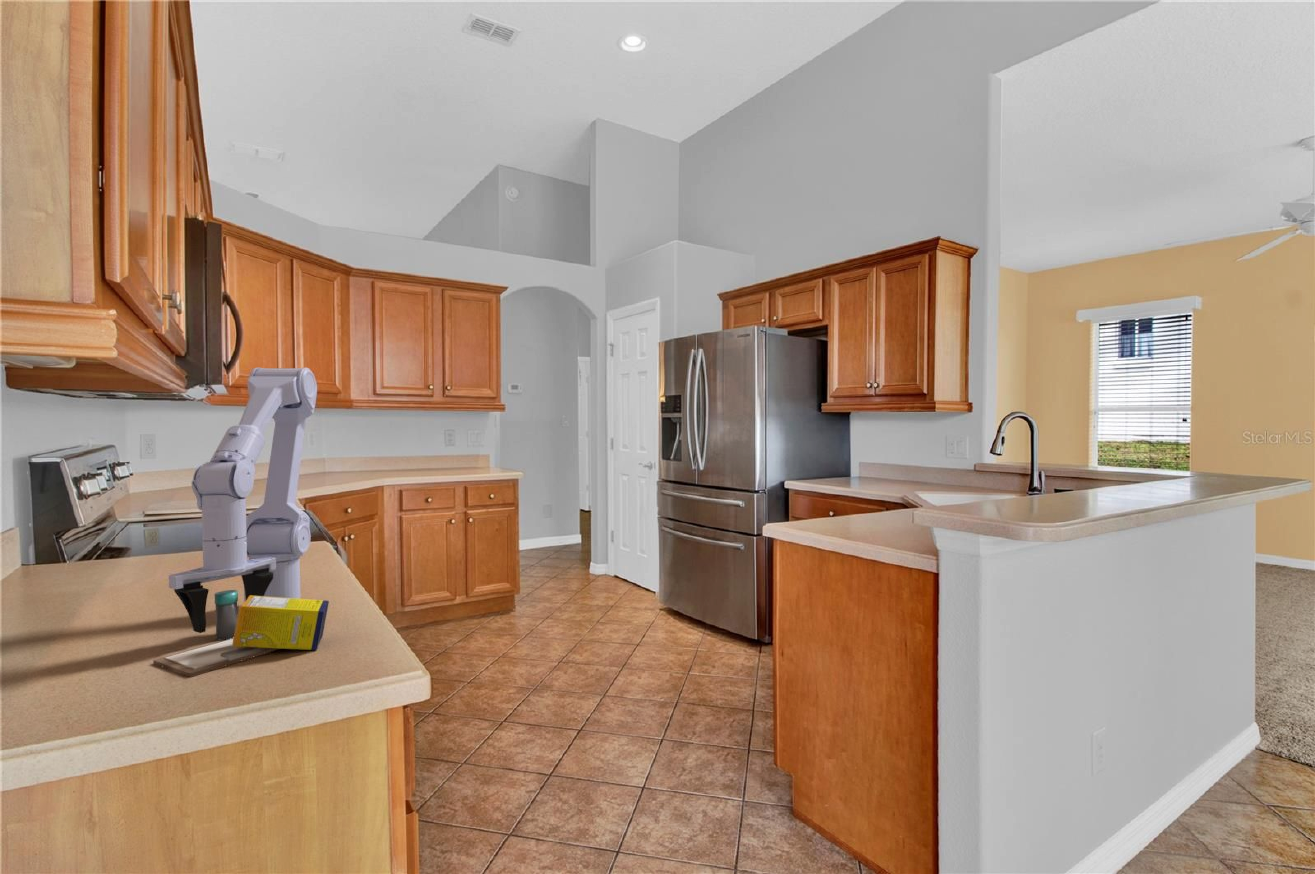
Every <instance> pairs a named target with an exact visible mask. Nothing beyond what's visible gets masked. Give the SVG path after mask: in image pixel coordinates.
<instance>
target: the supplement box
mask: <svg viewBox="0 0 1315 874" xmlns="http://www.w3.org/2000/svg"><path fill="white" fill-rule="evenodd" d="M329 603H330V602H329V600H327V599H326V600H325V599H324V600H323V599H311V598H309V599H307V598H300V599H296V598H281V597H267V596H253V595H250V596H249V597H248V599H247V600H246V601H245V602H243V604H241V606H240V605H239V606H240V607H239V606H238V610H237V622H236V628H235V633H234V638H233V644H232V646H233V647H258V648H280V649H279V650H281V649H283V650H284V649H285V650H309V651H311V650H313V651H317V650H318V649H319V645H320V643H321V640H322V638H323V636H324V631H325V630H324V629H325V625H326V620H327V619H326V618H327V614H328V613H327V612H328V609H329Z"/></svg>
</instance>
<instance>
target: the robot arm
mask: <svg viewBox="0 0 1315 874" xmlns="http://www.w3.org/2000/svg"><path fill="white" fill-rule="evenodd" d="M247 390H248V395H249V397H248V400H247V403H246V406H245V409H244V410H243V413H242V415H241V418H240V421H239V423H238V425H237V424H236V425H233V426H230V427H229V428H227V430H226V431H225V434H224V435H223V437H222V439H221V440H220V442H219V445H218V446H217V448H216V450H215V451H214V453H213V455H212V457H211V459H210V460H209V461H206V462H204V463H203V464H201V465H199V466H198V467H196V470H195V471H194V473H193V478H192V480H191V489H192V493H193V494H194V495H195V497H196V506H197V507H198V508H197V509H198V511H201V528H202V529H201V532H202V533H201V535H202V536H201V537H202V566H201V567H198V568H194V569H190V570H185V571H182V572H177V573H173V574H169V575H168V588H169V589H172V590H173V591H174V593H175V594H176V596H177V597H178V599H179V600H180V601H181V603H182V604H183V606H184V608H185V610H186V612H187V614H188V616H189V619H190V623H191V625H192V630H193V632H195V633H199V634H201V633H205V632H206V629H207V618H206V617H207V616H206V615H207V614H206V612H207V611H206V609H207V601H208V594H209V589H208V588H205V587H204V585H203V583H204V584H205V583H211V582H215V581H220V580H224V579H229V578H235V577H239V576H241V579H242V582H243V583H242V584H243V601H244V602H245V601H246V600H247V599H248V597H249V596H250V595H253V596H267V597H281V598H296V599H301V574H300V573H301V567H300V566H301V564H300V563H301V562H300V559H301V558H302V557H303V556H304V555H305V553H306V552H307V551H308V550H309V548H310V545H311V540H312V539H311V537H312V535H311V530H310V524H311V522H310V521H311V520H310V516H309V515H308V514H307V513H306V512H305V511H303V510H302V509H301V508H300V507H298V506H297V505H296V501H297V494H298V493H297V492H298V485H299V476H300V472H301V471H300V469H301V463H302V462H301V461H302V455H303V447H304V440H305V439H304V438H305V430H306V425H307V424H306V422H307V418H309V417H311V416H312V415H315V414H314V413H315V408H316V402H317V394H318V383H317V380H316V377H315V375H314V373H313V372H312V370H311V369H310V367H309V368H308V367H300V368H298V367H297V368H296V367H295V368H293V367H291V368H272V367H271V368H266V367H264V368H262V367H255V368H253V369H252V370H251V372H250V373H249V376H248V377H247ZM271 419H273V420H274V429H273V437H272V443H271V444H272V445H271V448H270V449H271V450H270V457H269V463H268V471H267V479H266V485H265V491H264V498H263V504H262V505H260V506H259V507H257V508H255V510H253V511H252V512H250V513H249V514H248V515H247V497H248V496H249V495H251V492H252V491H253V489H254V484H255V483H254V482H255V473H256V467H255V465H256V462H257V460H258V458H259V456H260V454H261V452H262V450H263V448H264V446H265V443H266V440H265V436H264V435H263V432H264V430H265V429H266V428H267V426H268V424H269V422H270V421H272V420H271ZM244 602H243V603H244ZM241 605H242V604H241ZM241 605H240V604H239V606H238V608H239V607H240V606H241Z"/></svg>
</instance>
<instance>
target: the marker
mask: <svg viewBox="0 0 1315 874" xmlns="http://www.w3.org/2000/svg"><path fill="white" fill-rule="evenodd" d="M238 596H239V593H238V590H237V589H235V590H234V589H229V590H222V591H221V590H220V591H217V592H215V593H214V605H215V637H216V640H217V639H221V640H220V641H223V640H222V639H226V640H227V639H230V638H233V637H234V633H235V628H236V622H237V617H238V601H239V597H238Z"/></svg>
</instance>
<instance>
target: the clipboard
mask: <svg viewBox="0 0 1315 874" xmlns="http://www.w3.org/2000/svg"><path fill="white" fill-rule="evenodd" d="M232 644H233V638H231V639H226V640H219V641H217V642H214V643H209V644H206V645H203V646H199V647H194V648H192V649H189V650H185V651H181V652H177V653H173V654H171V655H167V656H166V655H165V656H164V657H160V658H156V659H153V660H152V661H153V662H152V663H153V665H156V666H158V665H160V666H159V667H161V666H163V667H162V668H164V669H166V670H169V671H171V672H174V671H175V673H178V674H180V675H182V674H183V676H185V677H187V678H192V677H195V676H199V675H202V674H205V673H208V672H211V671H210V670H212V671H215V670H218V669H221V668H223V667H222V666H224V667H226V666H225V665H228V666H231V665H234V664H236V662H237V663H240V662H242V661H241V660H244V661H246V659H247V660H250V659H252V658H251V657H253V656H256V657H259V655H260V656H262V655H261V654H263V655H265V654H264V653H266V654H268V653H267V652H269V653H271V652H270V651H272V652H276V651H278V650H277V649H279V650H281V649H280V648H258V647H233V646H232ZM275 650H276V651H275ZM249 658H250V659H249ZM253 658H254V657H253ZM239 661H240V662H239ZM233 663H234V664H233ZM220 667H221V668H220ZM217 668H218V669H217ZM214 669H215V670H214Z"/></svg>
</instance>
